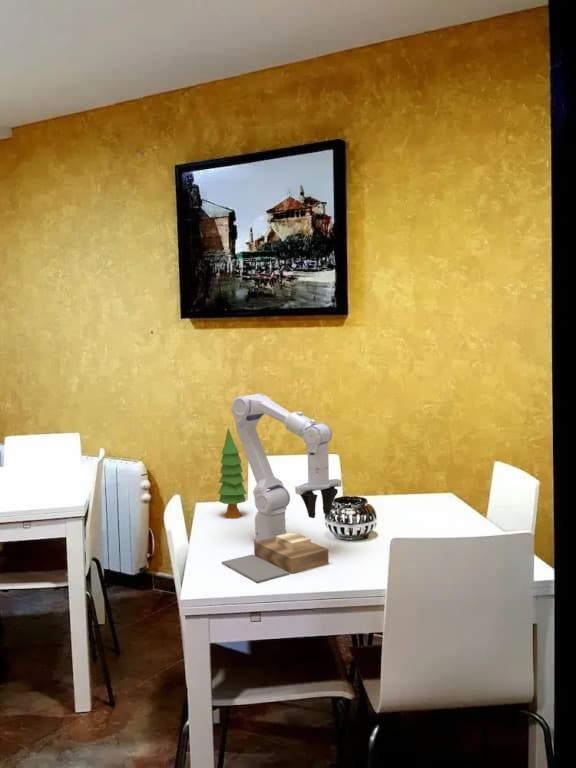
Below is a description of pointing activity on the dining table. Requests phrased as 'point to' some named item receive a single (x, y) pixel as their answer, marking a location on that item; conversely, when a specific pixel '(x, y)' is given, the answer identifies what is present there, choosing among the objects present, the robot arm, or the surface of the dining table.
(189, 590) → the dining table surface
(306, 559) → the walnut deck
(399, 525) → the dining table surface
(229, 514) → the decorative tree
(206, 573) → the dining table surface
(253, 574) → the rubber mat
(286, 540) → the birch tile
